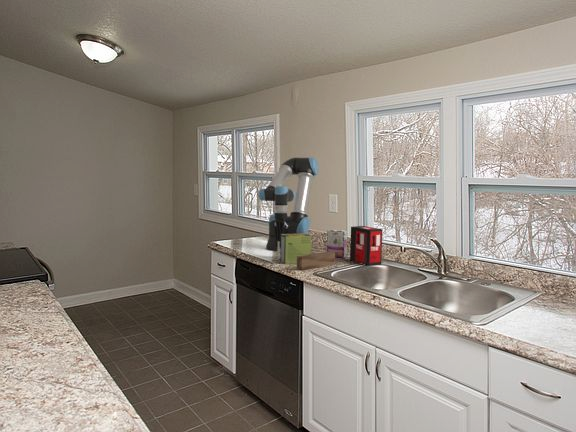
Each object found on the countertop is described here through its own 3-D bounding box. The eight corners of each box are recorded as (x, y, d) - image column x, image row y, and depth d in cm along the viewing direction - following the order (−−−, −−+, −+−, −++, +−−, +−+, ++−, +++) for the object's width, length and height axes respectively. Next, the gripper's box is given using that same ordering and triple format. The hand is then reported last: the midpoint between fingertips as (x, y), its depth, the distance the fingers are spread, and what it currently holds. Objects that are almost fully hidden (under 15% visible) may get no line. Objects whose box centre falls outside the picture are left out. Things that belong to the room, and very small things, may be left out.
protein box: (311, 263, 243) (311, 235, 242) (284, 264, 239) (285, 236, 237) (305, 259, 253) (305, 233, 252) (279, 260, 249) (280, 233, 247)
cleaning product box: (349, 260, 251) (350, 226, 249) (361, 259, 255) (362, 225, 253) (368, 266, 237) (370, 230, 235) (381, 264, 241) (382, 229, 239)
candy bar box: (346, 257, 262) (347, 230, 260) (343, 258, 257) (344, 231, 256) (329, 255, 267) (330, 229, 266) (326, 256, 263) (326, 229, 261)
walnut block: (296, 269, 226) (296, 255, 226) (329, 263, 241) (329, 251, 241) (301, 270, 223) (301, 257, 223) (334, 264, 238) (335, 252, 238)
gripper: (269, 211, 257) (268, 251, 259) (282, 213, 247) (281, 254, 249) (279, 211, 262) (278, 250, 263) (292, 213, 251) (292, 253, 253)
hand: (280, 252), depth 256 cm, fingers closed
